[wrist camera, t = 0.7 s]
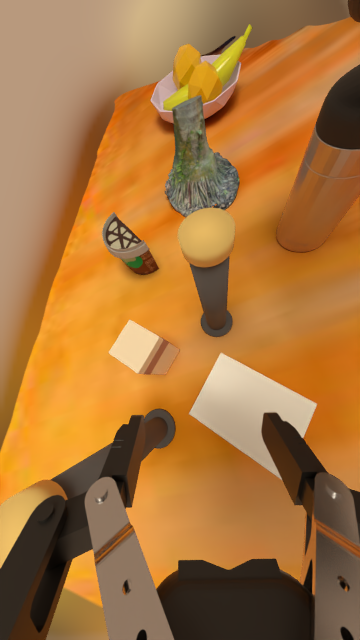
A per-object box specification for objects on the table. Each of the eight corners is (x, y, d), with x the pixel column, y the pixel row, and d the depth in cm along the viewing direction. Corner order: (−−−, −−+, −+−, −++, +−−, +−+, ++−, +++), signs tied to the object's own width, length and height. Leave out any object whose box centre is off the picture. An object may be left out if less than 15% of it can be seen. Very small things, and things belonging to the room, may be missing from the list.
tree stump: (176, 232, 45) (141, 138, 30) (168, 198, 56) (140, 117, 41) (250, 202, 41) (250, 79, 27) (226, 172, 52) (217, 74, 38)
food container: (116, 259, 46) (89, 229, 37) (134, 244, 46) (112, 210, 37) (142, 289, 41) (119, 263, 32) (162, 272, 41) (145, 241, 32)
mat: (221, 353, 33) (221, 352, 32) (315, 403, 27) (317, 404, 27) (189, 413, 31) (188, 413, 31) (283, 479, 26) (285, 482, 25)
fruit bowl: (149, 144, 58) (133, 92, 47) (169, 92, 64) (158, 37, 54) (239, 131, 50) (243, 65, 39) (250, 74, 57) (256, 5, 46)
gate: (209, 303, 36) (190, 192, 14) (237, 315, 34) (263, 207, 12) (137, 432, 32) (-47, 553, 10) (164, 455, 30) (5, 667, 8)
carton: (157, 336, 37) (129, 319, 26) (180, 349, 35) (160, 336, 24) (143, 360, 36) (107, 353, 25) (165, 375, 34) (137, 374, 23)
